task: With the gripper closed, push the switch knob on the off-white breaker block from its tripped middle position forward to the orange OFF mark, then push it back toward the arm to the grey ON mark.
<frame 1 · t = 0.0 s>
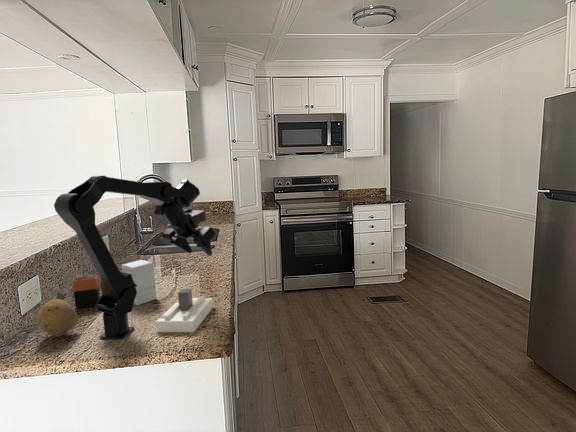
hand: (200, 253, 131), 15 cm above the worktop, tool tilted 35°, fingers open, 9 cm apart
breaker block: (187, 318, 116), on the worktop
switch knob: (185, 299, 115), point 6 cm above the worktop, slide at 0.0 cm
battery: (88, 305, 131), on the worktop
tan rounded lump: (58, 336, 108), on the worktop
supplement box: (141, 301, 134), on the worktop
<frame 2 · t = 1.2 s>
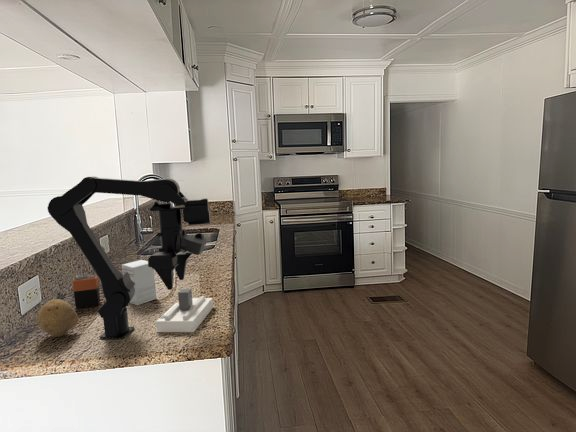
hand: (176, 284, 108), 12 cm above the worktop, tool pointing down, fingers open, 8 cm apart
nothing on the worktop moved.
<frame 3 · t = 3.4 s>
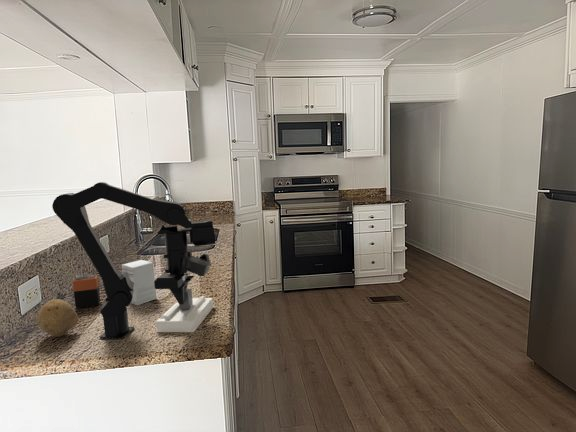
hand: (181, 304, 112), 6 cm above the worktop, tool pointing down, fingers closed
switch knob: (185, 299, 115), point 6 cm above the worktop, slide at 0.1 cm, touching gripper
everything else where it was.
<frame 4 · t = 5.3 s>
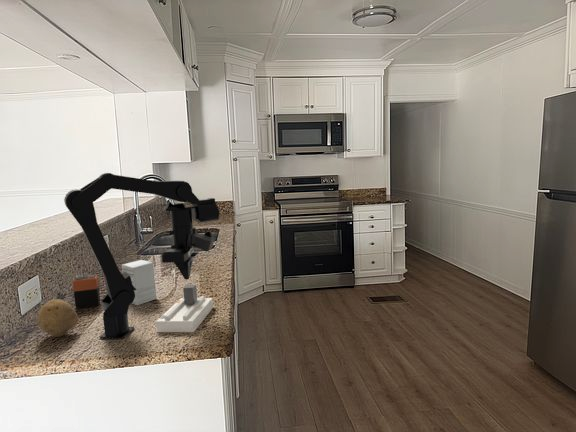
hand: (187, 279, 116), 11 cm above the worktop, tool pointing down, fingers closed
switch knob: (190, 294, 119), point 6 cm above the worktop, slide at 4.1 cm
everything else where it was.
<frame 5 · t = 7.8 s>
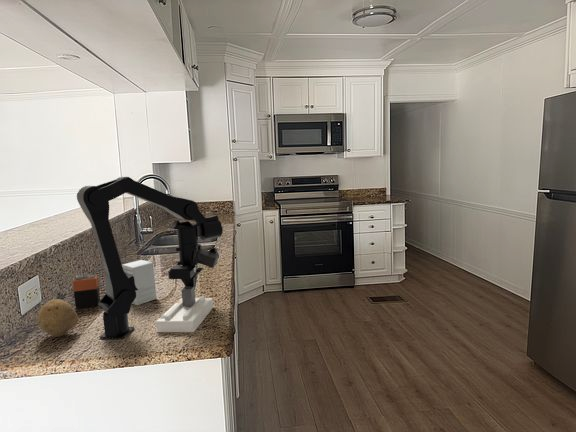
hand: (192, 293, 121), 5 cm above the worktop, tool pointing down, fingers closed
switch knob: (188, 296, 117), point 6 cm above the worktop, slide at 2.6 cm, touching gripper
everything else where it was.
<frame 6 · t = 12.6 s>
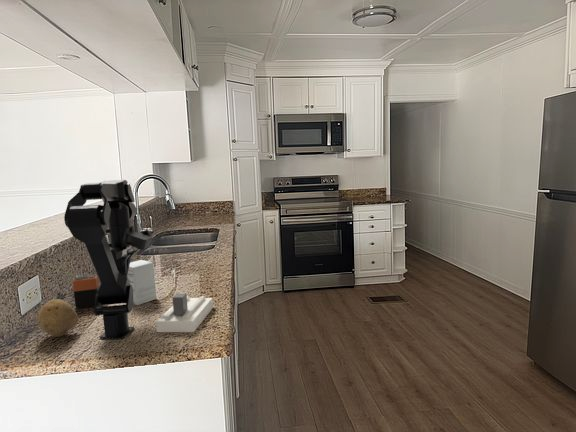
hand: (124, 277, 118), 12 cm above the worktop, tool pointing down, fingers closed
switch knob: (180, 304, 111), point 6 cm above the worktop, slide at -4.1 cm
everything else where it was.
at the end: switch knob slide at -4.1 cm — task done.
